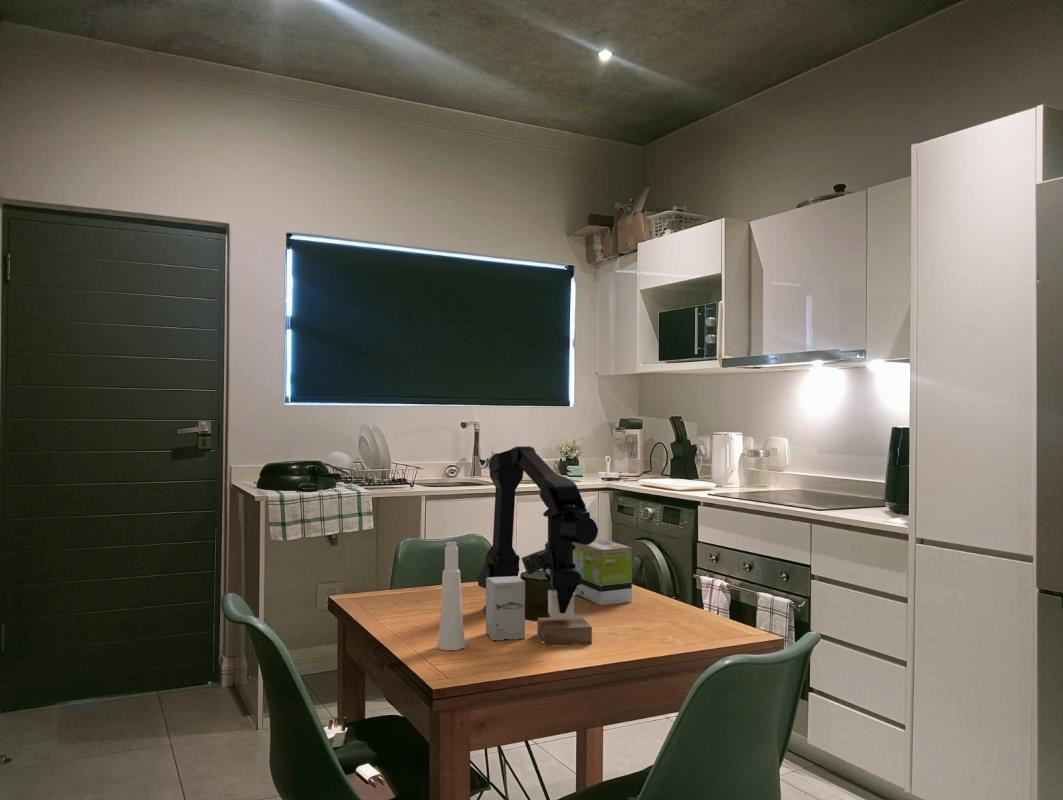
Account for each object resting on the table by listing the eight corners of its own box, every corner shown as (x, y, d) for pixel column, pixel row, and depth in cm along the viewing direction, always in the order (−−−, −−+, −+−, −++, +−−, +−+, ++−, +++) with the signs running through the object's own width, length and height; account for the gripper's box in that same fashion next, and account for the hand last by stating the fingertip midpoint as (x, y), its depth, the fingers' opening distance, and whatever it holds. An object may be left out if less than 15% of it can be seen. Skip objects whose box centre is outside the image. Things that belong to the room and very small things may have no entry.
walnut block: (537, 635, 183) (537, 617, 183) (581, 633, 185) (581, 616, 185) (545, 648, 173) (545, 629, 173) (591, 646, 175) (591, 627, 175)
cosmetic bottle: (471, 647, 172) (471, 542, 173) (448, 653, 168) (448, 545, 169) (453, 641, 177) (454, 539, 177) (431, 647, 172) (431, 542, 173)
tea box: (572, 594, 224) (572, 540, 225) (604, 591, 228) (604, 538, 229) (600, 606, 211) (599, 548, 211) (633, 602, 215) (633, 545, 215)
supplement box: (492, 641, 177) (492, 583, 177) (485, 633, 184) (485, 576, 184) (525, 639, 179) (525, 581, 179) (517, 631, 186) (517, 575, 186)
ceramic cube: (548, 612, 182) (548, 589, 182) (570, 611, 183) (570, 589, 183) (551, 618, 177) (551, 594, 177) (574, 617, 178) (574, 594, 178)
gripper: (520, 533, 189) (520, 601, 188) (528, 546, 170) (528, 621, 170) (567, 532, 190) (567, 600, 190) (581, 545, 171) (582, 620, 171)
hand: (560, 610), depth 180 cm, fingers closed on ceramic cube, 5 cm apart
